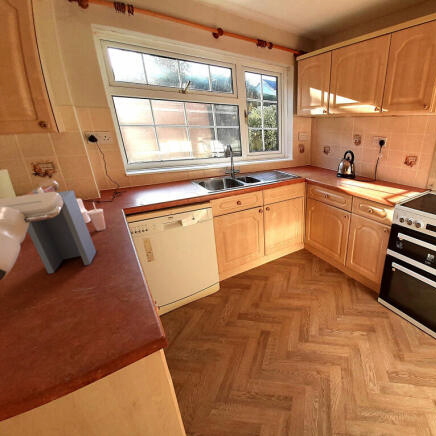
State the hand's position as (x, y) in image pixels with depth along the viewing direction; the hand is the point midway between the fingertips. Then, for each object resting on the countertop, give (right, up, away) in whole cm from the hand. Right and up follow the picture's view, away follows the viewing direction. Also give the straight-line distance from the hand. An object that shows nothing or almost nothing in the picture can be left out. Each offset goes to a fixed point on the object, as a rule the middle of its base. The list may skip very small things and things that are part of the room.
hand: (15, 193), depth 64 cm
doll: (-9, 0, +16) cm, 18 cm away
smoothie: (-22, -12, +57) cm, 63 cm away
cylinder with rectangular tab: (-41, -9, +66) cm, 78 cm away
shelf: (-10, -23, +28) cm, 38 cm away
